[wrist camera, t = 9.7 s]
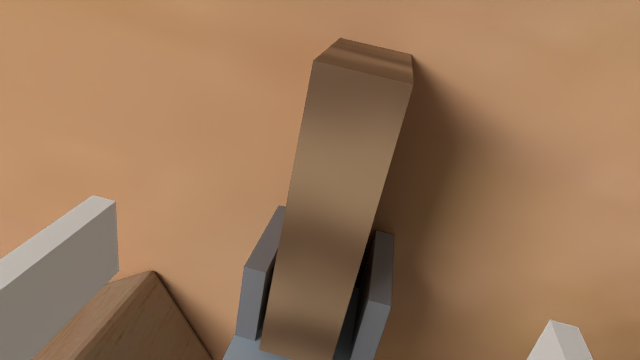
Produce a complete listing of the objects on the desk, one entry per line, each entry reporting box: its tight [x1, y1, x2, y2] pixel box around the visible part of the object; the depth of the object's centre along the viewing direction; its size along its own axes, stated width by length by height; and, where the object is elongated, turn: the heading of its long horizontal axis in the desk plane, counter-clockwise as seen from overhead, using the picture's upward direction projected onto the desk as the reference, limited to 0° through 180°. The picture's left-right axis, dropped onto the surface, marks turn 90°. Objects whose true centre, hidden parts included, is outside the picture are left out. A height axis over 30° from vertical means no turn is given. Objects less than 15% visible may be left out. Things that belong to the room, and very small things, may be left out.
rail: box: [259, 38, 414, 360], centre depth 24 cm, size 16×4×8 cm, turn 168°
